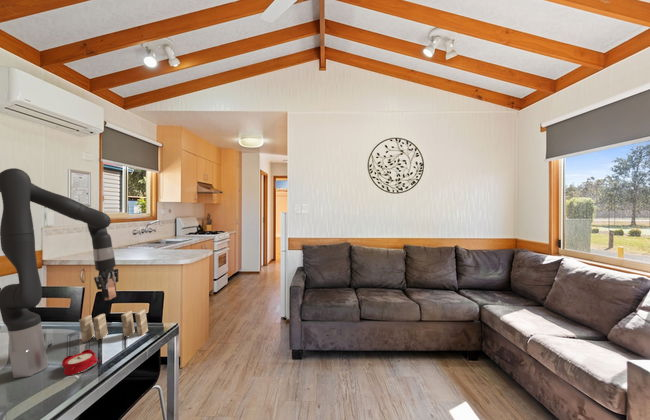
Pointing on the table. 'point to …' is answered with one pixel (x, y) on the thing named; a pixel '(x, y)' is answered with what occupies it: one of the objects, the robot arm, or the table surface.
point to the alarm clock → (78, 362)
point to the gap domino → (110, 289)
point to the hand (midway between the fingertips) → (109, 295)
